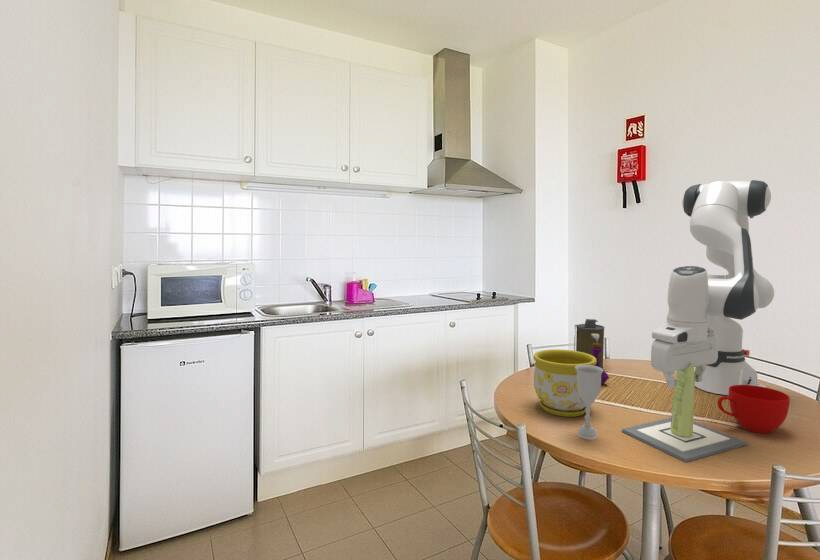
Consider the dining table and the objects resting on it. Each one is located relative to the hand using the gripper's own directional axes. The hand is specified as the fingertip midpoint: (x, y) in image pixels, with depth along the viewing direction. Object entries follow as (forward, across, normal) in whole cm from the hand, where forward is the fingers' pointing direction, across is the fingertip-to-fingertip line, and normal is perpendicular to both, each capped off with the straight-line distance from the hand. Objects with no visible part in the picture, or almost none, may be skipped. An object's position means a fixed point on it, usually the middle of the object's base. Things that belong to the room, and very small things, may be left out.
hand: (684, 383), depth 114 cm
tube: (+13, 0, 0) cm, 13 cm away
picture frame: (+14, 0, 0) cm, 14 cm away
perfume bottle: (+15, -12, -43) cm, 47 cm away
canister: (+15, -24, -57) cm, 63 cm away
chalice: (+14, +22, -11) cm, 28 cm away
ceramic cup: (+15, -22, +3) cm, 26 cm away
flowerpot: (+15, +14, -28) cm, 35 cm away
